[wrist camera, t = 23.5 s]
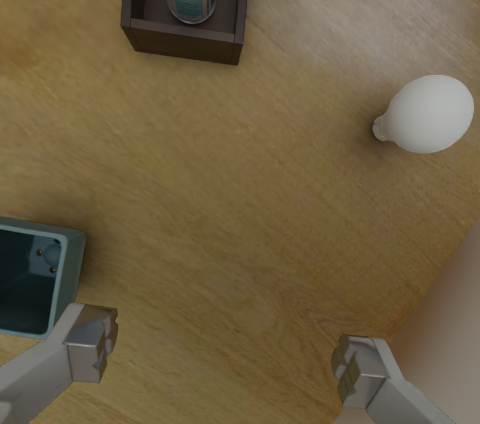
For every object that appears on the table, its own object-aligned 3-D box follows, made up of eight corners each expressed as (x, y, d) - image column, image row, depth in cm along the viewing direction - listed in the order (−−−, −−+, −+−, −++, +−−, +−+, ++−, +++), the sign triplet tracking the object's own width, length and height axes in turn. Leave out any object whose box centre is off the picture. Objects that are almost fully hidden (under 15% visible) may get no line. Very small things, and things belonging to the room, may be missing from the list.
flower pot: (18, 205, 32) (-54, 214, 23) (105, 221, 33) (67, 236, 24) (7, 286, 33) (-68, 325, 24) (92, 299, 34) (50, 341, 25)
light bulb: (418, 135, 36) (510, 115, 25) (373, 171, 36) (445, 167, 25) (386, 86, 35) (467, 44, 24) (340, 123, 35) (400, 97, 24)
